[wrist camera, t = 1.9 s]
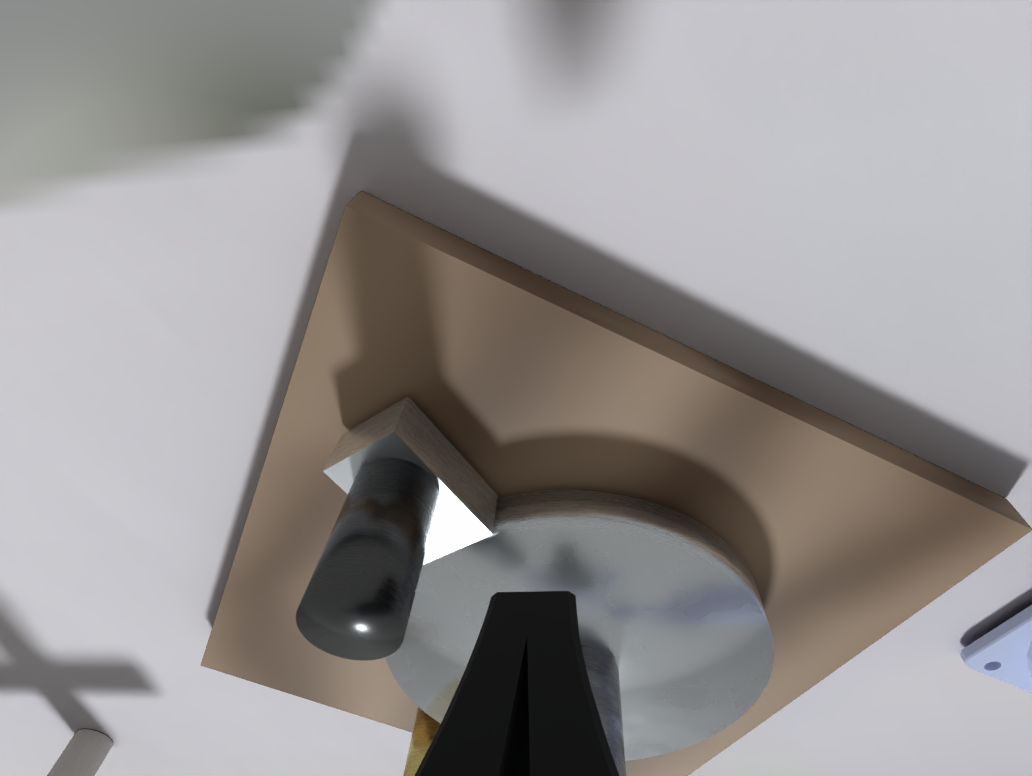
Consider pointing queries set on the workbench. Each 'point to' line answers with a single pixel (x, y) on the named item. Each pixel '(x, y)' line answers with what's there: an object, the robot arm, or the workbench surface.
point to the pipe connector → (82, 754)
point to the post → (607, 700)
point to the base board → (585, 464)
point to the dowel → (420, 741)
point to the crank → (531, 583)
